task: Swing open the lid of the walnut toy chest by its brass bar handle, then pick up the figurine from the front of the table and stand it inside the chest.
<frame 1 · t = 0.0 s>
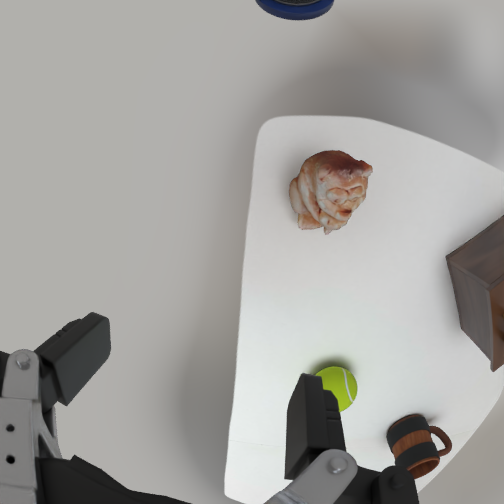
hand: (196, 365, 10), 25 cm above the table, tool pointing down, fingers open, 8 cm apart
mug: (412, 424, 41), on the table
chest: (490, 270, 32), on the table
tennis ball: (330, 374, 39), on the table
figurine: (314, 190, 32), on the table
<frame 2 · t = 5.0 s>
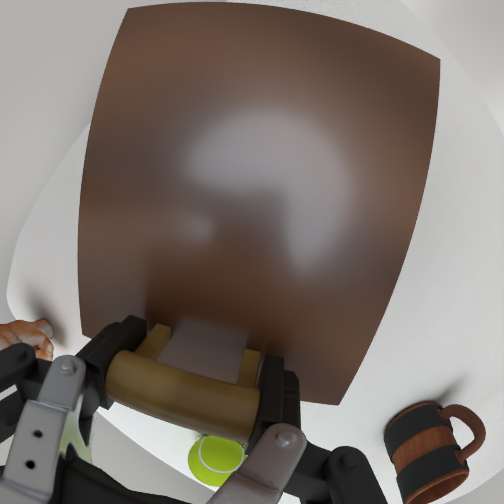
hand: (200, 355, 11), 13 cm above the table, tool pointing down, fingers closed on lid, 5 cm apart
mug: (422, 413, 26), on the table
lid: (221, 209, 8), point 14 cm above the table, hinge at -0.1°, touching gripper
tennis ball: (223, 439, 30), on the table
figurine: (48, 321, 28), on the table
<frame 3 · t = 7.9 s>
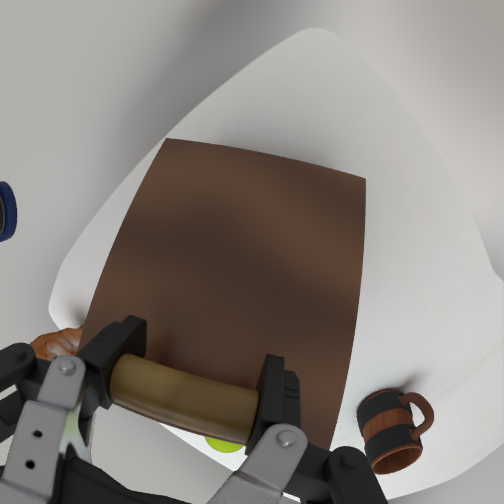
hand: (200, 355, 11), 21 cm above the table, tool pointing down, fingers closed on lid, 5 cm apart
mug: (388, 398, 36), on the table
lid: (227, 259, 13), point 18 cm above the table, hinge at 40.4°, touching gripper
tennis ball: (230, 415, 40), on the table
figurine: (89, 327, 39), on the table
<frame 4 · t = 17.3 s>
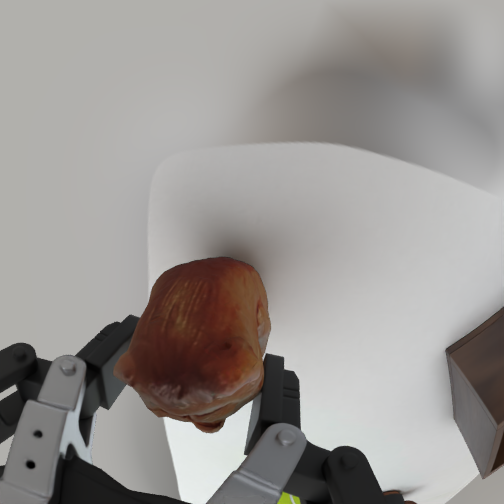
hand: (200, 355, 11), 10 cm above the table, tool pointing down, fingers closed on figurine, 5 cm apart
mug: (387, 496, 30), on the table
chest: (503, 352, 20), on the table
tennis ball: (280, 467, 28), on the table
figurine: (239, 270, 21), on the table, touching gripper
when the fingers open (11 cm above the table, at t = 27.2 s): figurine stays where it is, resting on chest.
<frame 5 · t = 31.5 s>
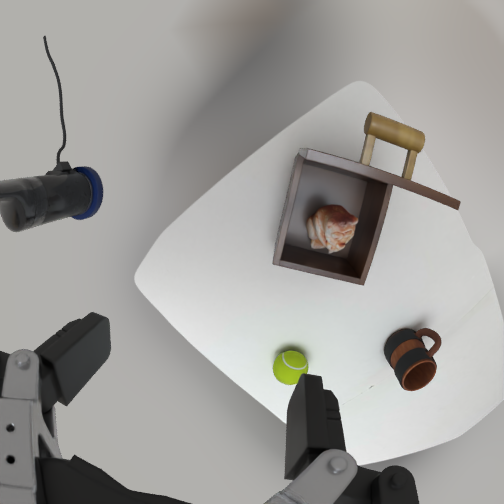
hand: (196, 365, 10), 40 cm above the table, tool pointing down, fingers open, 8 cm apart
mug: (405, 337, 52), on the table
lid: (371, 149, 26), point 20 cm above the table, hinge at 84.1°
chest: (324, 211, 47), on the table
tennis ball: (290, 357, 56), on the table
figurine: (321, 220, 47), point 1 cm above the table, touching chest
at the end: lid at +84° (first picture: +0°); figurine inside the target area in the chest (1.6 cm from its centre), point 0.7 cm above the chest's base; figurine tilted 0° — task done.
